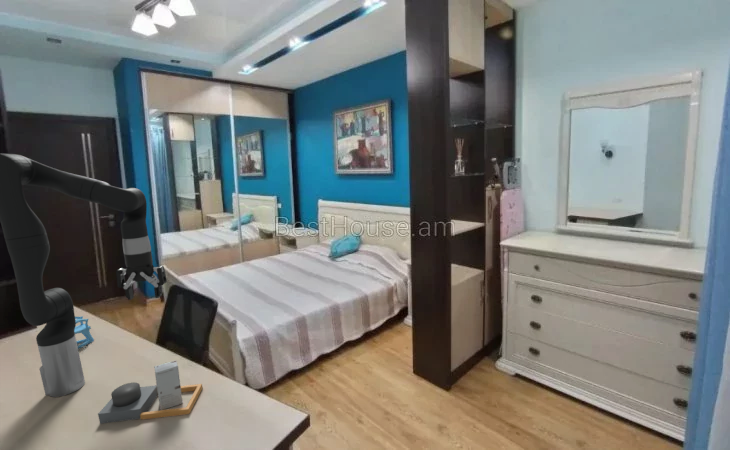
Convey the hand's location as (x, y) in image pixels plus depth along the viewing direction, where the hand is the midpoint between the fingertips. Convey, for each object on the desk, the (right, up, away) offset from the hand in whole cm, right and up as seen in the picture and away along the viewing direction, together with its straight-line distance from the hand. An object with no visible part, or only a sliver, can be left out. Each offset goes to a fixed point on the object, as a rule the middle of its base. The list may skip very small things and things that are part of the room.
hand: (144, 298), depth 120 cm
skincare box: (+15, -29, -12) cm, 35 cm away
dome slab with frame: (+10, -29, -12) cm, 33 cm away
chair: (-43, -25, +28) cm, 57 cm away
